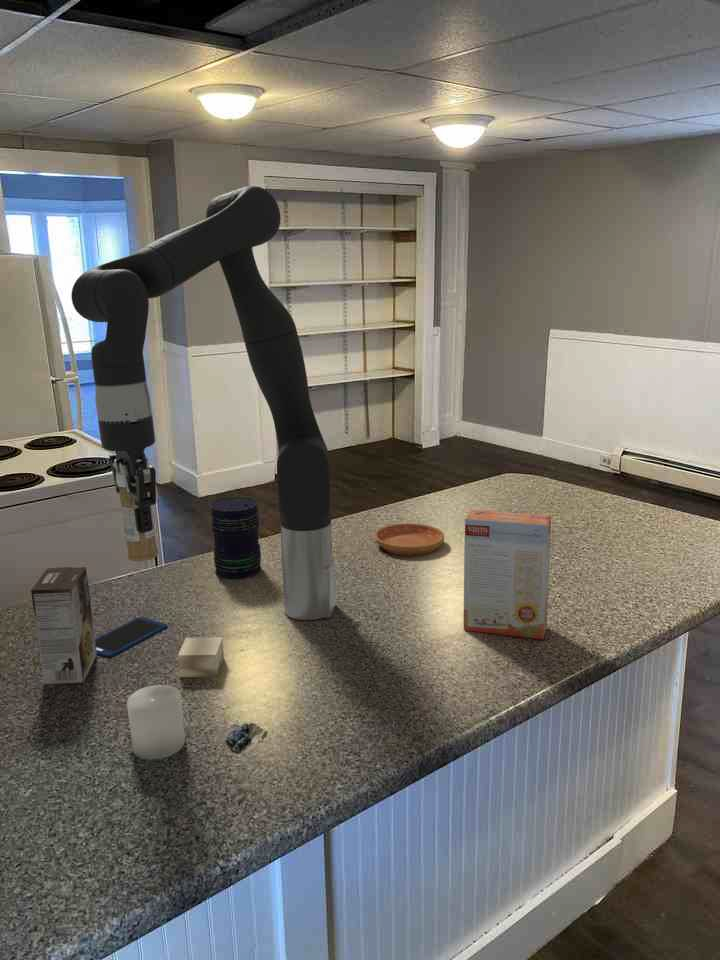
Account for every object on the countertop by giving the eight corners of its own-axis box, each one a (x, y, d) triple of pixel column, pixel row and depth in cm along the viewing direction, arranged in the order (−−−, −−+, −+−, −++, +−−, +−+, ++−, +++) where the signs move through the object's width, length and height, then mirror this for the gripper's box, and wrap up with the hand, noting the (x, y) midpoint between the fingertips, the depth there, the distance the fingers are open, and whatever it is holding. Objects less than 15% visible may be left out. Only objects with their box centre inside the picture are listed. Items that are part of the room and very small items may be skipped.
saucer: (456, 541, 182) (456, 529, 182) (423, 563, 170) (423, 550, 169) (396, 530, 191) (396, 519, 190) (361, 551, 178) (361, 538, 177)
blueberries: (269, 727, 111) (268, 715, 110) (265, 761, 103) (264, 748, 103) (221, 729, 111) (220, 717, 110) (213, 763, 103) (212, 751, 102)
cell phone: (79, 650, 134) (79, 646, 134) (141, 619, 145) (140, 615, 145) (109, 660, 130) (109, 656, 130) (169, 628, 142) (169, 624, 141)
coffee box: (58, 657, 131) (46, 567, 127) (98, 655, 131) (87, 565, 127) (42, 685, 122) (28, 589, 118) (84, 683, 123) (72, 587, 118)
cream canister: (192, 731, 109) (188, 686, 108) (174, 761, 103) (169, 714, 101) (144, 727, 110) (139, 683, 109) (123, 757, 104) (118, 711, 102)
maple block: (223, 659, 130) (222, 637, 129) (217, 677, 124) (216, 654, 123) (187, 659, 130) (185, 637, 129) (179, 678, 124) (177, 655, 123)
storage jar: (205, 576, 164) (200, 508, 160) (230, 560, 173) (225, 495, 169) (247, 582, 160) (242, 513, 157) (270, 565, 169) (266, 499, 165)
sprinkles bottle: (163, 557, 117) (152, 470, 114) (133, 565, 115) (121, 476, 111) (151, 549, 121) (141, 465, 117) (123, 556, 118) (111, 470, 115)
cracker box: (547, 626, 139) (552, 514, 133) (543, 641, 133) (549, 525, 128) (469, 616, 143) (471, 507, 138) (462, 630, 138) (464, 517, 132)
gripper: (84, 411, 116) (100, 521, 120) (114, 425, 104) (130, 545, 109) (134, 404, 120) (147, 511, 124) (168, 416, 108) (181, 533, 113)
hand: (139, 526), depth 117 cm, fingers closed on sprinkles bottle, 4 cm apart
